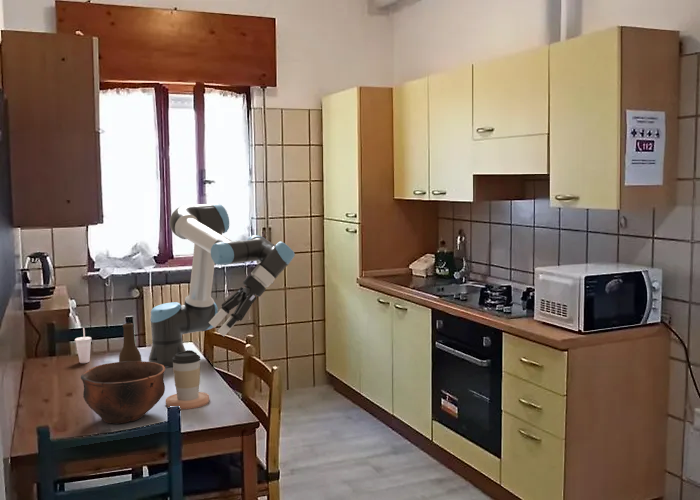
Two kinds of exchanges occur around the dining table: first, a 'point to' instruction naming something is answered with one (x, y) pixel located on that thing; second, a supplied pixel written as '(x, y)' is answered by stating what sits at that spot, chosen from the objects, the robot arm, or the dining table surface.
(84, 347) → the smoothie
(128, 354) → the beer bottle
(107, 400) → the bowl
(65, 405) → the dining table surface
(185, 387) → the coffee cup
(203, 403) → the saucer
